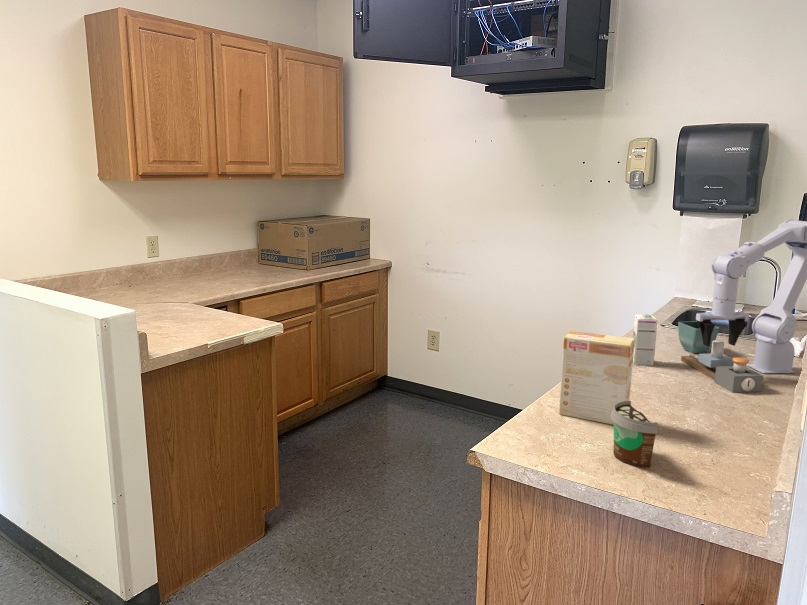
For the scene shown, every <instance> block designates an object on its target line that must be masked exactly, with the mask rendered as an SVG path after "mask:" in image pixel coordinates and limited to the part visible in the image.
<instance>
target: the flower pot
mask: <svg viewBox="0 0 807 605" xmlns="http://www.w3.org/2000/svg"><path fill="white" fill-rule="evenodd" d="M677 324H678V326H677V327H678V330H677V331H678V339H679V343H680V345H681V347H682V348H683V350H685V351H686V352H687V351H688V352H689V353H693V354H707V353H709V351H710V350H711V349H712V341H715V340H717V337H718V333H719V329H720V327H719V326H716V325H715V326H714V329H713V332H712V335H711V343H710V346H706V345H704V344H703V338H702V334H701V330H700V328H699V325H698V323H697V320H695V321H694V320H693V321H678V322H677Z"/></svg>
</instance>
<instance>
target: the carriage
mask: <svg viewBox="0 0 807 605" xmlns="http://www.w3.org/2000/svg"><path fill="white" fill-rule="evenodd" d="M724 349H725V341H723V340H717V339H716V340H715V341H712V347H711V349H710V350H711V352H710V353H698V356H699V358H698V361H699V362H701V363H703V364H704V365H706V366H708V367H710V368H716V367H717V366H733V365H734V362H733V361H732V360H733V358H732V357H730V356H728V355H726V354H725V353H724Z"/></svg>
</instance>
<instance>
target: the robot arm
mask: <svg viewBox="0 0 807 605" xmlns="http://www.w3.org/2000/svg"><path fill="white" fill-rule="evenodd" d="M782 244H783V245H784V244H785V245H786V246H787V248H788V249H789V250H790V251H791V252H792V254H793V257H792V259H791V261H790V263H789V265H788V267H787V269H786V272H785V275H784V276H783V279H782V281H781V282H780V284H779V287H778V289H777V291H776V293H775V296H774V298H773V300H772V303H771V305H769V306H767V307H764V308H762V309H761V310H760V312H759V314H758V315H757V316H756V317H755V318H754V320H753V321H752V324H751V330H752V332H753V334H755V335H754V337H755V338H756V344H755V351H754V358H753V362H752V363H748V364H747V365H746V367H748V368H749V367H750V369H752V370H755V371H756V372H758V373H760V374H767V375H768V374H794V373H795V372H794V370H793V363H794V357H795V346H794V343H792V341H791V340H792V338H793V337H794V335H795V330H796V329H795V327H796V326H797V322H798V320H797V319H796V317H795V316H794V314H793V310H794V308H795V306H796V303H797V301H798V299H799V297H800V295H801V293H802V290H803V289H804V287H805V284H806V283H807V221H806V220H804V221H803V220H795V219H786V220H785V221H784V222H781V223H779V224H778V226H777V228H776V229H775V230H773V231H772V232H770V233H769V234H767V235H766V236H764V237H763V238H762V239H760V240H759V241H757V242H755V241H746V242H744V243H743V245H742V246H740V247H738V248H737V249H735V250H731V251H730V252H729V253H728V254H721V255H719V256H717V257H716V258H715V259H714V261H713V263H712V264H711V270H712V273H713V275H714V276H713V279H714V289H713V298H712V305H711V311H707V312H706V311H704V312H697V313H696V315H695V321H697V323H698V325H699V328H700V330H701V334H702V338H703V344H704V345H706V346H710V343H711V335H712V332H713V329H714V326H716V324H715V323H712V321H728V329H729V330H728V333H729V334H728V345H730V346H733V347H734V346H736V344H737V341H738V339H739V337H740V335H741V334H742V332H743V331H744V330H745V328H746V327H747V326H748V321H749V319H750V313H748V312H744V311H743V312H742V311H741V312H740V311H736V305H737V296H738V288H739V281H740V278H741V277H742V276H743V275H744V274H745V272H746V270H747V269H748V268H749V267H751V266H753V265H754V264H756V263H757V262H760V261H761V260H762V259H763V258H764V256H765V253H767V252H768V251H771V250H773V249H775V248H776V247H779V246H781V245H782Z"/></svg>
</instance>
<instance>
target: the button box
mask: <svg viewBox="0 0 807 605" xmlns="http://www.w3.org/2000/svg"><path fill="white" fill-rule="evenodd" d="M763 380H764V375H763V374H762V373H760V372H758V371H756V370H755V371H754V369H752V368H749V367H748V366H746V372H745V373H739V374H737V373H735V372H733V366H717V367H716V373H715V380H714V383H715V384H717V385H719V386H721V387H722V388H724V389H726V390H727V391H729V392H731V393H755V392H756V393H759V392H762V386H763Z"/></svg>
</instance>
